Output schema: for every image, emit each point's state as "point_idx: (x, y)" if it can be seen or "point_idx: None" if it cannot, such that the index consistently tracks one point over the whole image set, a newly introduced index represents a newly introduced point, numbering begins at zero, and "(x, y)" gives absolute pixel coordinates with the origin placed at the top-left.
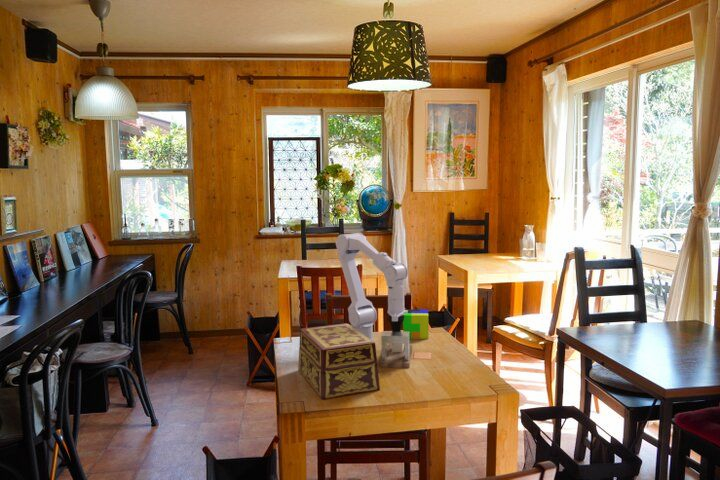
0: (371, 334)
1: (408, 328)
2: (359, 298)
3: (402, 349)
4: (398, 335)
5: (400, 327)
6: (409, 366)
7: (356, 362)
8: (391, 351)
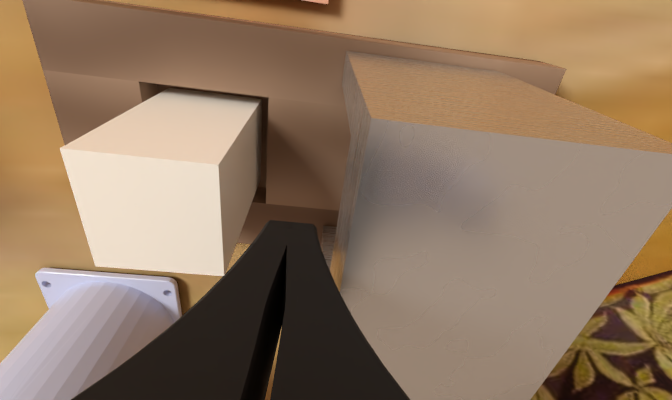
0: (73, 370)
1: None
2: None
3: (251, 117)
4: (562, 294)
5: (352, 321)
6: (527, 60)
7: None
8: None
